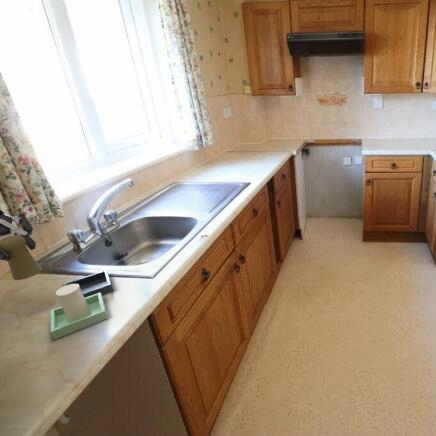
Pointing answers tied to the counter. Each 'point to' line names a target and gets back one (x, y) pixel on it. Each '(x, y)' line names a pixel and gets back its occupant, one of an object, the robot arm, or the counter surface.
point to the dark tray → (94, 284)
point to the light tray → (64, 327)
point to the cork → (19, 258)
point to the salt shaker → (73, 302)
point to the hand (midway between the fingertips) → (21, 253)
